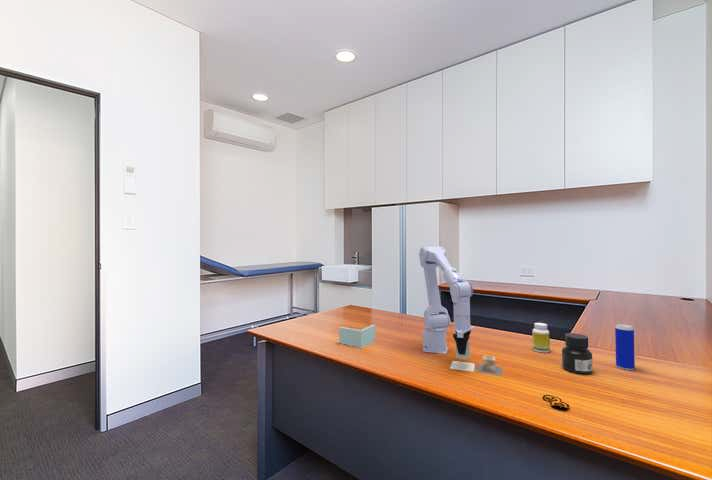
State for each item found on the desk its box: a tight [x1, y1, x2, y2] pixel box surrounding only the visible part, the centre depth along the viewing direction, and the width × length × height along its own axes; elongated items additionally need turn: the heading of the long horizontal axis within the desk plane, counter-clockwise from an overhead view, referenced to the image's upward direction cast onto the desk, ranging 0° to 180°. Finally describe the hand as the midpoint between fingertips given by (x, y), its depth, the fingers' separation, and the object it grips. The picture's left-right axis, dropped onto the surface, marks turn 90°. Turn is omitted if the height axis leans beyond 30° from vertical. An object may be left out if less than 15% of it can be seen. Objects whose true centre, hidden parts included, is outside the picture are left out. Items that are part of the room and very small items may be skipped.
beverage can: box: [614, 323, 636, 371], centre depth 115 cm, size 5×5×15 cm
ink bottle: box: [561, 332, 593, 375], centre depth 114 cm, size 10×9×12 cm
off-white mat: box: [449, 360, 476, 373], centre depth 118 cm, size 8×8×1 cm
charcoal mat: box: [476, 363, 503, 376], centre depth 114 cm, size 8×8×1 cm
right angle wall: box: [338, 324, 376, 349], centre depth 149 cm, size 12×12×8 cm
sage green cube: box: [455, 342, 471, 360], centre depth 118 cm, size 4×4×4 cm
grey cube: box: [482, 355, 496, 372], centre depth 114 cm, size 4×4×4 cm
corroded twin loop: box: [542, 394, 570, 411], centre depth 91 cm, size 5×8×1 cm, turn 3°
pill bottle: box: [531, 322, 551, 354], centre depth 134 cm, size 6×6×11 cm
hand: (462, 352), depth 118 cm, fingers closed on sage green cube, 4 cm apart
